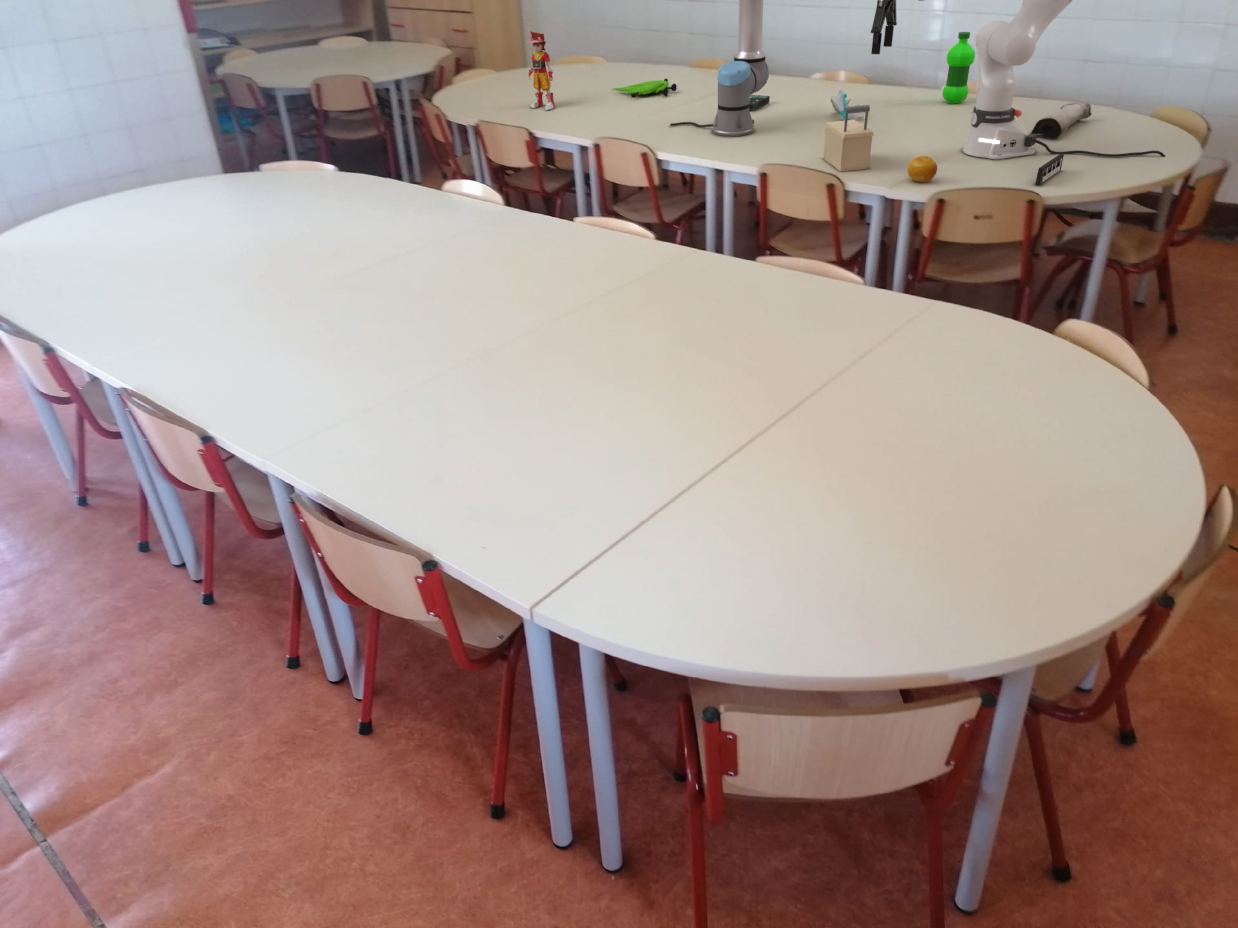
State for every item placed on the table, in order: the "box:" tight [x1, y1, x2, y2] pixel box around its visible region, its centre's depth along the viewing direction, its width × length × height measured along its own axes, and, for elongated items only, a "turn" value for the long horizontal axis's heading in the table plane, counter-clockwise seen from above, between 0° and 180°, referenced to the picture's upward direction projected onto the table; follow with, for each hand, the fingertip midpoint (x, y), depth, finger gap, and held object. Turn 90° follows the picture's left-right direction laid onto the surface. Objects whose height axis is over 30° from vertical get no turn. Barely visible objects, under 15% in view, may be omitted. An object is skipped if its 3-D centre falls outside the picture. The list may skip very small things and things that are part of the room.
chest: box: [823, 126, 873, 172], centre depth 294 cm, size 15×10×10 cm, turn 10°
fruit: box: [907, 155, 938, 183], centre depth 277 cm, size 8×8×8 cm
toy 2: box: [612, 78, 677, 99], centre depth 396 cm, size 28×5×30 cm
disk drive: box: [749, 94, 771, 111], centre depth 365 cm, size 10×3×15 cm
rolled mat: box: [1029, 101, 1092, 140], centre depth 316 cm, size 30×9×10 cm
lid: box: [825, 104, 874, 139], centre depth 289 cm, size 16×10×9 cm, turn 10°
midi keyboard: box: [1035, 154, 1065, 186], centre depth 273 cm, size 18×1×5 cm, turn 138°
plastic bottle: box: [942, 31, 976, 104], centre depth 348 cm, size 10×10×25 cm
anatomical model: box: [830, 89, 865, 121], centre depth 343 cm, size 15×10×10 cm
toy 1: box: [527, 31, 556, 111], centre depth 374 cm, size 12×9×30 cm
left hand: (881, 50), depth 308 cm, fingers open, 13 cm apart
